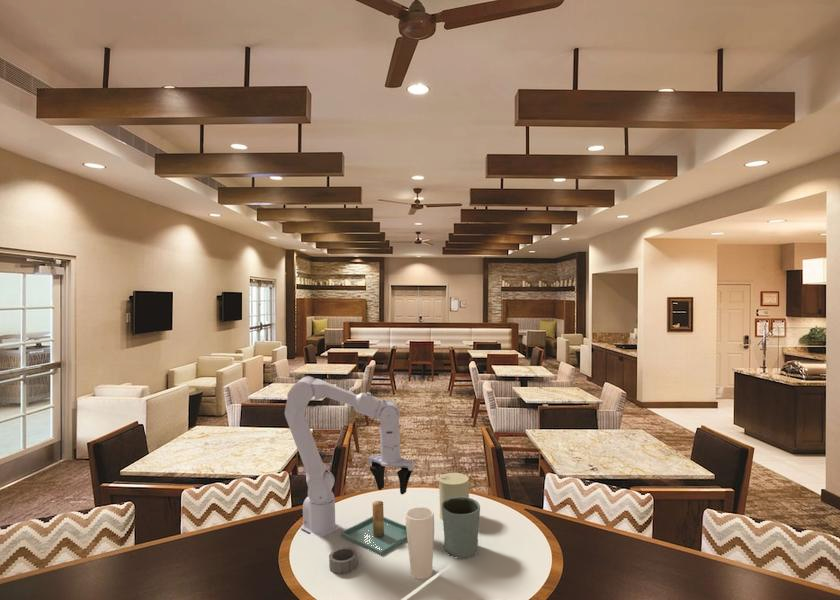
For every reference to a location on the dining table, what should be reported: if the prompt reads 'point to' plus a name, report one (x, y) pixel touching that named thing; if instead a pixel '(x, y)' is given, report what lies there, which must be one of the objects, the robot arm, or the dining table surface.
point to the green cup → (461, 526)
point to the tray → (390, 540)
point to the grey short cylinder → (343, 560)
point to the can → (452, 487)
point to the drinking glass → (420, 541)
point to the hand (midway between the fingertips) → (392, 490)
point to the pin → (378, 519)
